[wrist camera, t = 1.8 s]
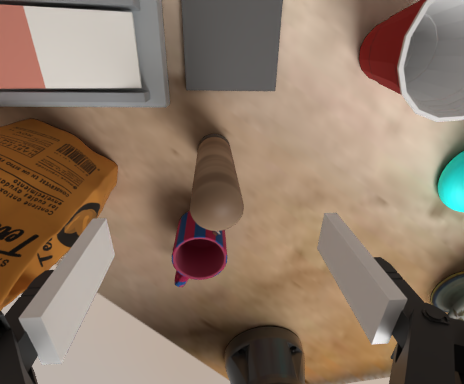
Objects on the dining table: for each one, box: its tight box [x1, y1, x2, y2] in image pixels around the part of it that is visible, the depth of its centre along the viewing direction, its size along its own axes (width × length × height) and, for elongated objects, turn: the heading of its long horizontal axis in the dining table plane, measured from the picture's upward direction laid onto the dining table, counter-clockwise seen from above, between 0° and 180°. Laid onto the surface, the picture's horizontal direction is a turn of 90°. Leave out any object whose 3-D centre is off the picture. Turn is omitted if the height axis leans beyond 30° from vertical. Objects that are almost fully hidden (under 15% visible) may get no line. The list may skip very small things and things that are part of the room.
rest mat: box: [181, 0, 283, 91], centre depth 28 cm, size 10×10×1 cm
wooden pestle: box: [190, 134, 244, 231], centre depth 26 cm, size 4×4×15 cm
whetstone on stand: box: [0, 0, 170, 107], centre depth 25 cm, size 10×20×6 cm, turn 89°
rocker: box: [0, 4, 142, 89], centre depth 22 cm, size 16×6×1 cm, turn 89°
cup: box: [172, 211, 227, 287], centre depth 35 cm, size 7×10×7 cm
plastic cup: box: [359, 0, 464, 122], centre depth 24 cm, size 11×11×12 cm
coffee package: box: [0, 119, 118, 311], centre depth 23 cm, size 10×12×22 cm
